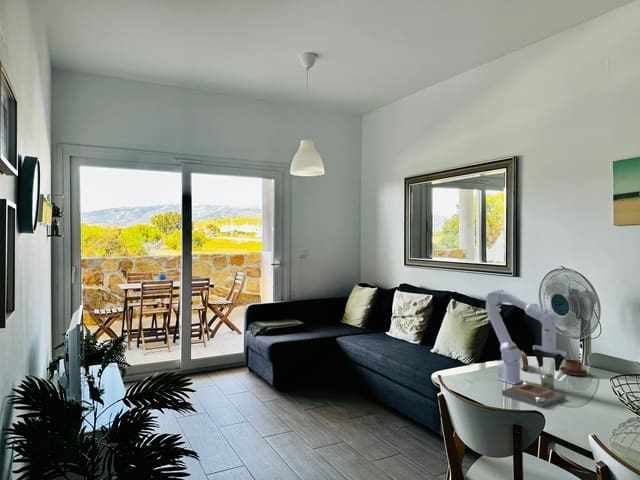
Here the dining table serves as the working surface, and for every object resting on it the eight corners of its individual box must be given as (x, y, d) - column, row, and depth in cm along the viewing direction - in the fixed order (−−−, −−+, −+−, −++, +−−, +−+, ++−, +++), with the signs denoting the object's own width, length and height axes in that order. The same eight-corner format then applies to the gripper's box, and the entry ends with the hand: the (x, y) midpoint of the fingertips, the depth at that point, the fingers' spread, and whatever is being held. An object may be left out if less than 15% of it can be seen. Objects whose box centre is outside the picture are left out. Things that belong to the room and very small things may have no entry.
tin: (528, 372, 226) (528, 355, 226) (522, 371, 227) (522, 355, 227) (521, 364, 241) (521, 348, 241) (515, 363, 242) (515, 348, 242)
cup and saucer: (562, 368, 233) (562, 357, 233) (588, 373, 225) (589, 361, 225) (557, 374, 224) (557, 362, 224) (585, 378, 216) (585, 366, 216)
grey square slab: (502, 395, 193) (502, 387, 193) (525, 387, 203) (525, 379, 203) (542, 408, 178) (542, 399, 178) (565, 399, 188) (565, 391, 188)
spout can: (539, 388, 201) (539, 372, 201) (545, 386, 204) (545, 370, 204) (550, 392, 197) (550, 375, 197) (556, 390, 200) (556, 373, 200)
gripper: (569, 340, 196) (569, 371, 196) (538, 334, 208) (538, 363, 208) (561, 342, 192) (561, 373, 192) (530, 336, 205) (529, 365, 205)
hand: (548, 368), depth 200 cm, fingers open, 7 cm apart
